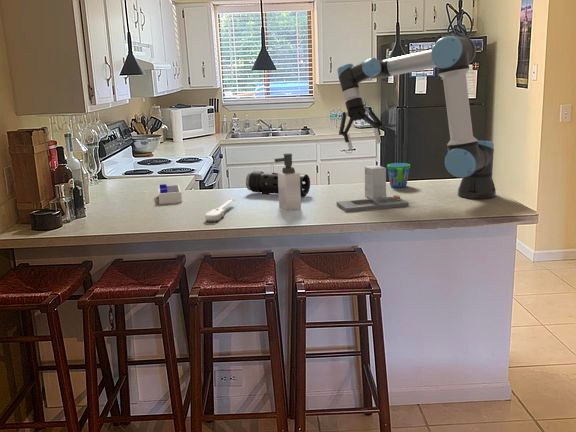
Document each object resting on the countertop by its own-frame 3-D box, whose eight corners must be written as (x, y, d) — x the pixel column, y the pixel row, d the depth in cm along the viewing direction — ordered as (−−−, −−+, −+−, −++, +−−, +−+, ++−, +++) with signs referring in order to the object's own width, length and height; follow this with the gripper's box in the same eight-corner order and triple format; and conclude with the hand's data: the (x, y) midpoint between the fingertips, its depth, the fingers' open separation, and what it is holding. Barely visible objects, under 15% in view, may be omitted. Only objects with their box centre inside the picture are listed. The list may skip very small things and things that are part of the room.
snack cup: (387, 183, 273) (387, 161, 271) (409, 183, 271) (410, 161, 269) (386, 189, 258) (386, 167, 256) (410, 190, 256) (410, 167, 254)
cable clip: (171, 202, 251) (170, 188, 250) (161, 203, 250) (160, 189, 249) (170, 196, 263) (169, 183, 261) (160, 197, 262) (159, 184, 260)
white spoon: (226, 205, 241) (226, 198, 240) (239, 205, 240) (239, 198, 239) (202, 222, 214) (202, 215, 214) (217, 223, 213) (216, 215, 212)
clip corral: (179, 194, 266) (179, 184, 265) (182, 202, 250) (181, 192, 248) (158, 195, 264) (157, 186, 263) (159, 204, 247) (158, 193, 246)
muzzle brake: (301, 199, 246) (301, 175, 244) (245, 195, 258) (244, 172, 256) (310, 195, 255) (310, 172, 252) (255, 191, 267) (254, 169, 264)
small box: (386, 198, 242) (386, 167, 239) (372, 199, 240) (372, 169, 237) (377, 194, 250) (377, 165, 246) (364, 196, 248) (364, 166, 244)
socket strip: (396, 199, 239) (396, 194, 238) (408, 206, 227) (408, 200, 227) (336, 205, 233) (336, 199, 232) (346, 212, 222) (346, 206, 221)
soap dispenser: (274, 208, 231) (271, 154, 226) (293, 205, 235) (291, 152, 230) (281, 212, 226) (279, 156, 220) (300, 208, 230) (299, 154, 224)
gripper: (375, 97, 260) (387, 142, 259) (324, 107, 254) (336, 153, 253) (382, 92, 253) (394, 138, 252) (329, 102, 246) (342, 149, 246)
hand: (365, 146), depth 252 cm, fingers open, 13 cm apart
